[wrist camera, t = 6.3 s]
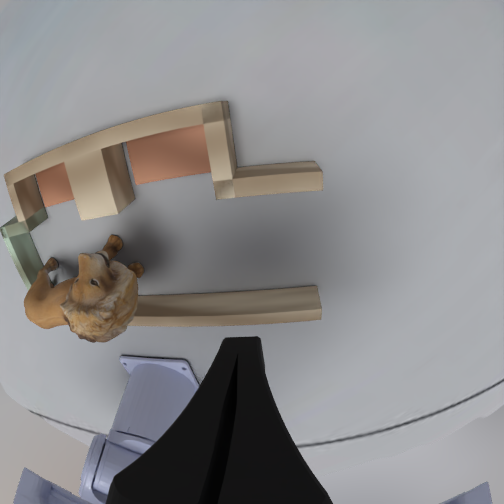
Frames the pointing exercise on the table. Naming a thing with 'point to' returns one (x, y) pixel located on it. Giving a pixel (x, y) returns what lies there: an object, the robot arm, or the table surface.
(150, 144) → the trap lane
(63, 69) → the table surface
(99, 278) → the lion figurine
